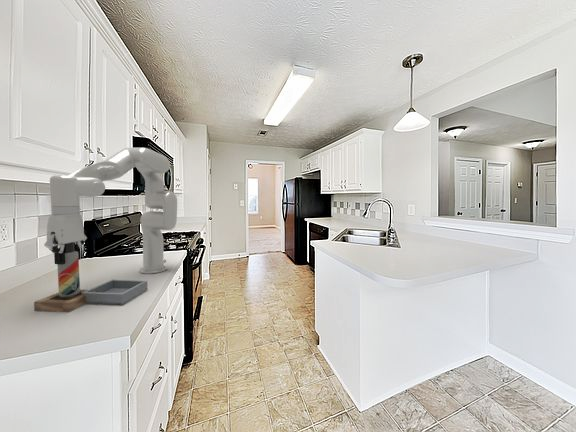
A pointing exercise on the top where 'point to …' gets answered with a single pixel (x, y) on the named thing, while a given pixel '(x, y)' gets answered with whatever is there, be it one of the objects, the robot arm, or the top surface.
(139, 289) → the tray
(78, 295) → the socket stand
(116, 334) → the top surface
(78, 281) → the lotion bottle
